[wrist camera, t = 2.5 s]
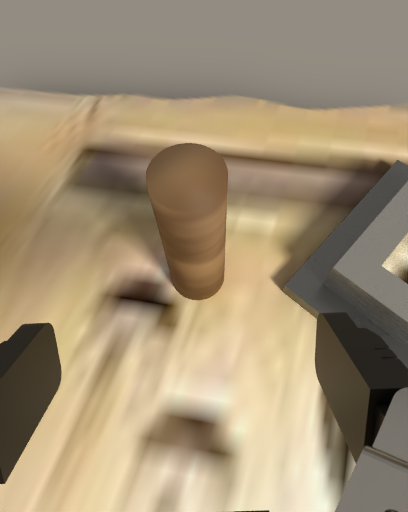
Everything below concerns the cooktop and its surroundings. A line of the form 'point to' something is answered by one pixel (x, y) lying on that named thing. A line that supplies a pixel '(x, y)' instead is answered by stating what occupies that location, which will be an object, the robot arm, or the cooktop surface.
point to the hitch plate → (338, 248)
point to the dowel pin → (191, 215)
